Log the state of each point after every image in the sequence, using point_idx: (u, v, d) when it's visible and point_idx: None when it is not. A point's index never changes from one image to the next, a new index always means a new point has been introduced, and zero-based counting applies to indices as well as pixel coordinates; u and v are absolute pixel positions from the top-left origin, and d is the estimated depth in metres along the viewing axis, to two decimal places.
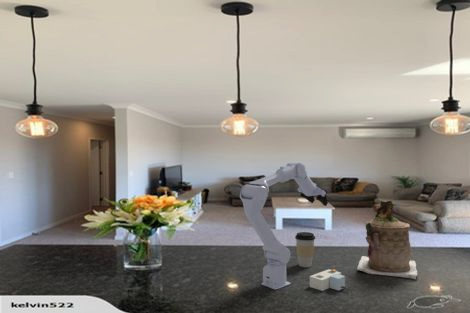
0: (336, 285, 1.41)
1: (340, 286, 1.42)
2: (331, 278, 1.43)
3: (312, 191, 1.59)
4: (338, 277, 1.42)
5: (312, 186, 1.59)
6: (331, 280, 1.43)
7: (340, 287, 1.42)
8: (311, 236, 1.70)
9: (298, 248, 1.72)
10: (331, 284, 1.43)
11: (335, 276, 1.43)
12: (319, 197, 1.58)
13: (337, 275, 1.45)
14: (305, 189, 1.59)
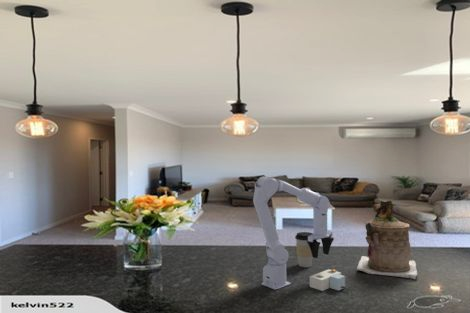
0: (336, 285, 1.41)
1: (340, 286, 1.42)
2: (331, 278, 1.43)
3: (314, 232, 1.54)
4: (338, 277, 1.42)
5: (316, 228, 1.52)
6: (331, 280, 1.43)
7: (340, 287, 1.42)
8: None
9: (298, 248, 1.72)
10: (331, 284, 1.43)
11: (335, 276, 1.43)
12: None
13: (337, 275, 1.45)
14: None
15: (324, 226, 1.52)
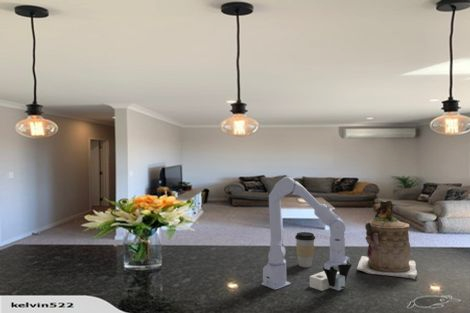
0: (336, 285, 1.41)
1: (340, 286, 1.42)
2: None
3: (331, 258, 1.43)
4: (338, 277, 1.42)
5: (333, 255, 1.42)
6: None
7: (340, 287, 1.42)
8: (311, 236, 1.70)
9: (298, 248, 1.72)
10: None
11: None
12: None
13: (337, 275, 1.45)
14: (330, 250, 1.45)
15: (341, 252, 1.41)
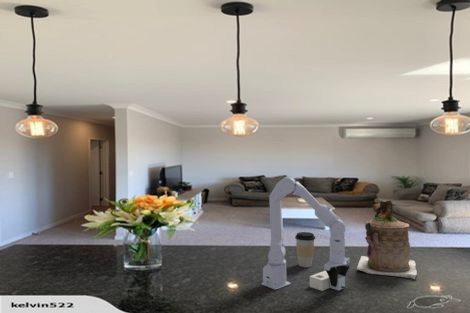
0: None
1: (340, 286, 1.42)
2: None
3: (330, 259, 1.43)
4: (338, 277, 1.42)
5: (333, 256, 1.42)
6: None
7: (340, 287, 1.42)
8: (311, 236, 1.70)
9: (298, 248, 1.72)
10: None
11: None
12: None
13: None
14: None
15: (341, 253, 1.41)
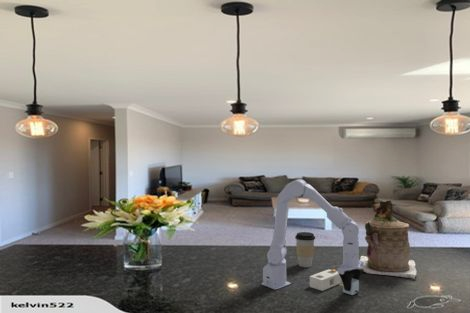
0: (350, 290, 1.37)
1: (354, 290, 1.37)
2: None
3: (344, 263, 1.38)
4: (352, 281, 1.38)
5: (347, 259, 1.37)
6: None
7: (354, 291, 1.37)
8: (311, 236, 1.70)
9: (298, 248, 1.72)
10: None
11: None
12: None
13: None
14: (343, 254, 1.40)
15: (355, 256, 1.37)
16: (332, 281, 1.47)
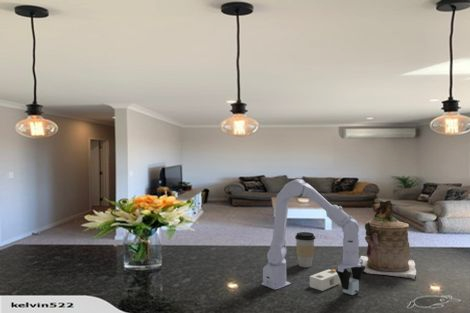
0: (350, 290, 1.37)
1: (354, 290, 1.37)
2: None
3: (344, 261, 1.38)
4: (352, 281, 1.38)
5: (347, 257, 1.37)
6: None
7: (354, 291, 1.37)
8: (311, 236, 1.70)
9: (298, 248, 1.72)
10: None
11: (349, 280, 1.39)
12: None
13: (350, 279, 1.40)
14: (343, 252, 1.40)
15: (355, 254, 1.37)
16: (332, 281, 1.47)
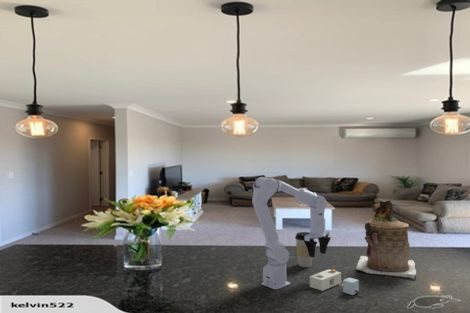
0: (350, 290, 1.37)
1: (354, 290, 1.37)
2: (344, 282, 1.39)
3: (311, 232, 1.55)
4: (352, 281, 1.38)
5: (313, 228, 1.54)
6: (344, 284, 1.39)
7: (354, 291, 1.37)
8: None
9: (298, 248, 1.72)
10: (344, 288, 1.39)
11: (349, 280, 1.39)
12: None
13: (350, 279, 1.40)
14: None
15: (321, 226, 1.53)
16: (332, 281, 1.47)
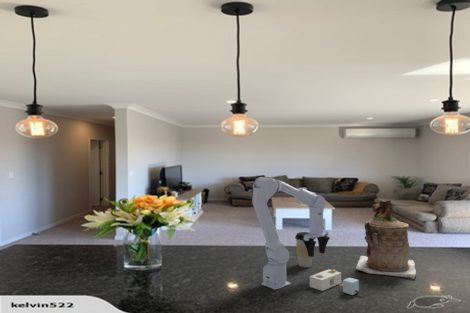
0: (350, 290, 1.37)
1: (354, 290, 1.37)
2: (344, 282, 1.39)
3: (310, 231, 1.55)
4: (352, 281, 1.38)
5: (312, 228, 1.54)
6: (344, 284, 1.39)
7: (354, 291, 1.37)
8: None
9: (298, 248, 1.72)
10: (344, 288, 1.39)
11: (349, 280, 1.39)
12: None
13: (350, 279, 1.40)
14: None
15: (320, 225, 1.53)
16: (332, 281, 1.47)
